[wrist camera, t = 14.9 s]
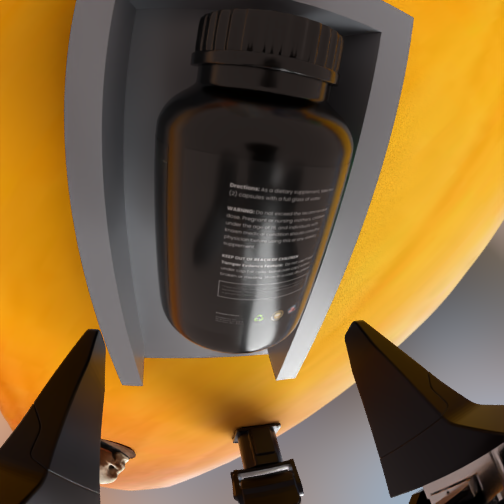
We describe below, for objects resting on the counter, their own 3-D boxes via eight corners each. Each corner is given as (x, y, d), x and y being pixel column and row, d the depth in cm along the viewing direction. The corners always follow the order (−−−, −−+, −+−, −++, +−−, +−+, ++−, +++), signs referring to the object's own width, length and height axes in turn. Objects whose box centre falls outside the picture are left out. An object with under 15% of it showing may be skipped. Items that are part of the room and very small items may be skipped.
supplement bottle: (313, 285, 16) (373, 60, 9) (274, 383, 10) (380, 12, 4) (204, 247, 17) (227, 38, 11) (132, 317, 12) (122, 12, 5)
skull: (153, 458, 38) (128, 494, 33) (121, 430, 44) (99, 463, 39) (108, 443, 31) (80, 484, 25) (79, 408, 37) (54, 446, 31)
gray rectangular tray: (280, 347, 24) (293, 386, 20) (127, 351, 21) (123, 394, 17) (368, 18, 10) (418, 11, 7) (111, -19, 7) (83, -46, 4)
